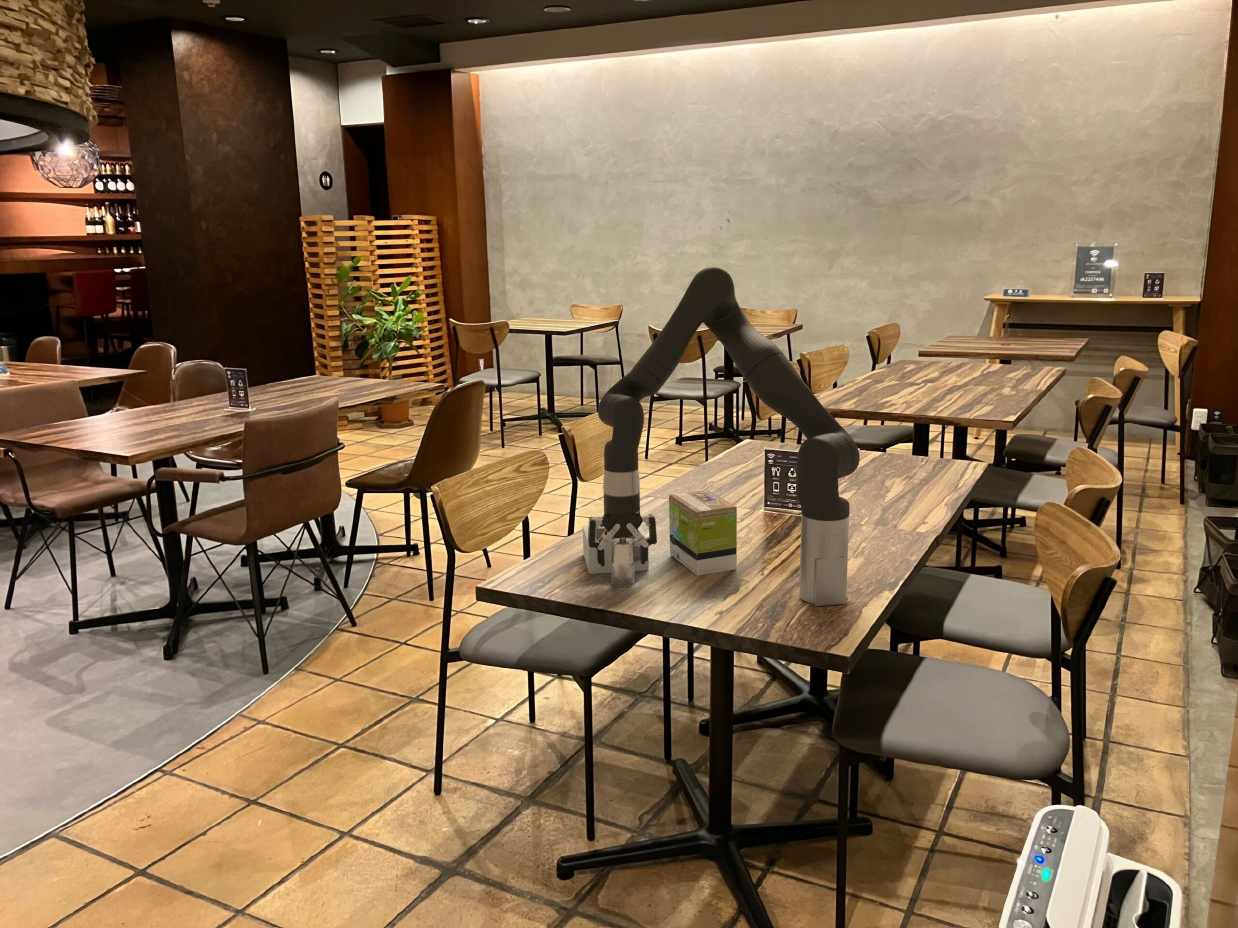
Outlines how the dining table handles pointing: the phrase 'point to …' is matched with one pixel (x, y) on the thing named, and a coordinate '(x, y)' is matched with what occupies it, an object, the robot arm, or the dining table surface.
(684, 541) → the tea box
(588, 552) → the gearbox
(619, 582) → the spout can
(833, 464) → the robot arm
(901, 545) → the dining table surface
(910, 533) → the dining table surface
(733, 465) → the dining table surface
